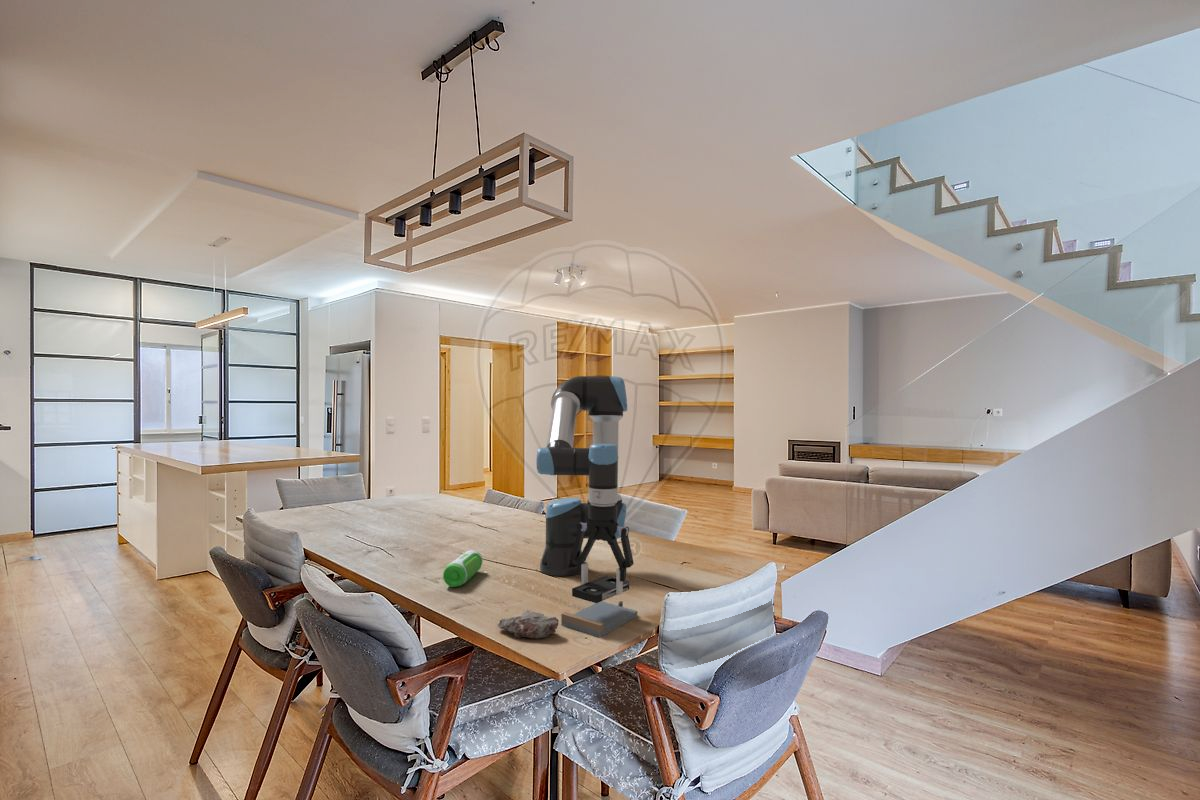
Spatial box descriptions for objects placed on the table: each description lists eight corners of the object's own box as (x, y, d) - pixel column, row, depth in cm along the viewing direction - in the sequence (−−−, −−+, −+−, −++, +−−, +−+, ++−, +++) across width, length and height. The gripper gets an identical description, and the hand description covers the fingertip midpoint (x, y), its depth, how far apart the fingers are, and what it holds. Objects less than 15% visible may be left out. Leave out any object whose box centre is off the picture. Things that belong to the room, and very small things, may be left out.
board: (561, 624, 142) (561, 613, 142) (603, 603, 157) (603, 593, 157) (600, 637, 135) (600, 625, 135) (640, 613, 150) (640, 603, 150)
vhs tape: (596, 603, 138) (596, 595, 138) (572, 596, 143) (572, 588, 143) (630, 589, 149) (630, 581, 149) (606, 582, 154) (606, 575, 154)
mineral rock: (493, 633, 137) (493, 615, 137) (514, 622, 144) (514, 605, 144) (542, 648, 129) (543, 628, 129) (562, 635, 136) (562, 617, 136)
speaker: (464, 589, 167) (465, 564, 167) (441, 588, 168) (441, 563, 168) (483, 572, 185) (484, 549, 185) (462, 570, 186) (462, 548, 186)
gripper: (558, 502, 146) (557, 589, 147) (638, 509, 138) (637, 601, 138) (570, 498, 153) (569, 580, 153) (647, 504, 145) (646, 592, 145)
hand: (601, 590), depth 146 cm, fingers closed on vhs tape, 9 cm apart
